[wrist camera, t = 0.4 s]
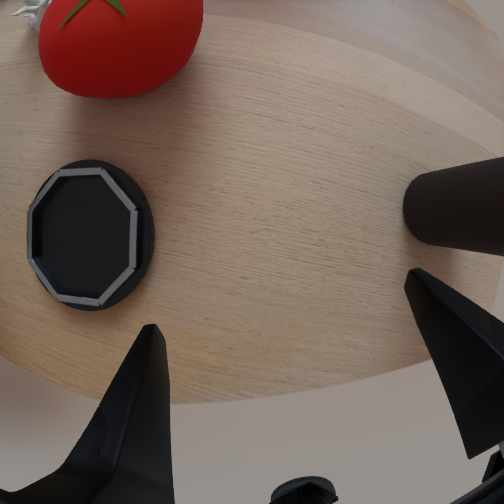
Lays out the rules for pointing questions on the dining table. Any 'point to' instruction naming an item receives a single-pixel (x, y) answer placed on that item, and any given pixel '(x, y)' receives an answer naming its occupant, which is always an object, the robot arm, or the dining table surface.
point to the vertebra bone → (34, 11)
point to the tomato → (117, 44)
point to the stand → (90, 235)
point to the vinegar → (459, 207)
